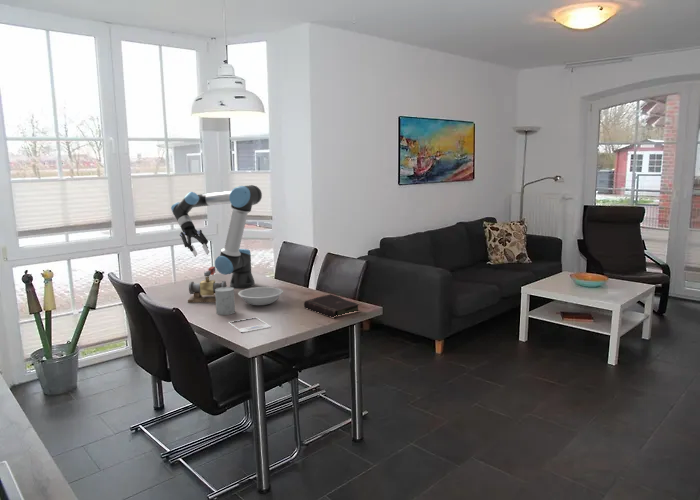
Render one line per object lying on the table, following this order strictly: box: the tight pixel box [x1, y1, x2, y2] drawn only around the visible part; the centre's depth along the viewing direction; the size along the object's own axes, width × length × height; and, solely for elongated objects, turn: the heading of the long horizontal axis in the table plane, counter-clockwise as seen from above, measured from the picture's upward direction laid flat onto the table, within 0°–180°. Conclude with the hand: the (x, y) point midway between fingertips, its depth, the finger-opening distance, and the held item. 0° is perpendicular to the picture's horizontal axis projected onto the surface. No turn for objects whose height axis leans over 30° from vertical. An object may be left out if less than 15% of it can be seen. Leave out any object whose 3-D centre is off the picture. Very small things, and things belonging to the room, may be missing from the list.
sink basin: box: [237, 286, 284, 306], centre depth 281 cm, size 24×24×7 cm
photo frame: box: [227, 316, 272, 333], centre depth 245 cm, size 15×1×18 cm
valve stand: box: [187, 276, 227, 304], centre depth 289 cm, size 20×11×13 cm, turn 91°
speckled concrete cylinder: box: [214, 286, 236, 316], centre depth 265 cm, size 10×10×12 cm
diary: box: [303, 293, 361, 317], centre depth 268 cm, size 19×25×5 cm
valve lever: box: [203, 266, 216, 277], centre depth 294 cm, size 3×16×4 cm, turn 1°
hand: (202, 254), depth 303 cm, fingers open, 7 cm apart
